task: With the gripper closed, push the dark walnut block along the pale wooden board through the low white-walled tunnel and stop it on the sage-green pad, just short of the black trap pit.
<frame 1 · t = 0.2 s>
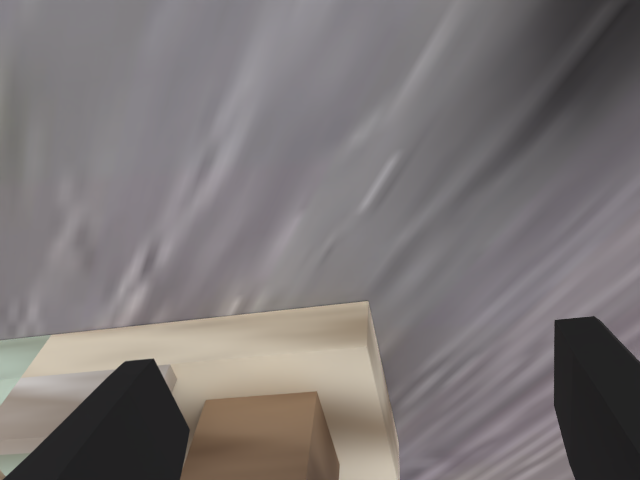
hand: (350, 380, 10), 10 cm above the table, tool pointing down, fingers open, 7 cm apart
walnut block: (275, 433, 23), point 2 cm above the table, touching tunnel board
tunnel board: (124, 398, 26), on the table
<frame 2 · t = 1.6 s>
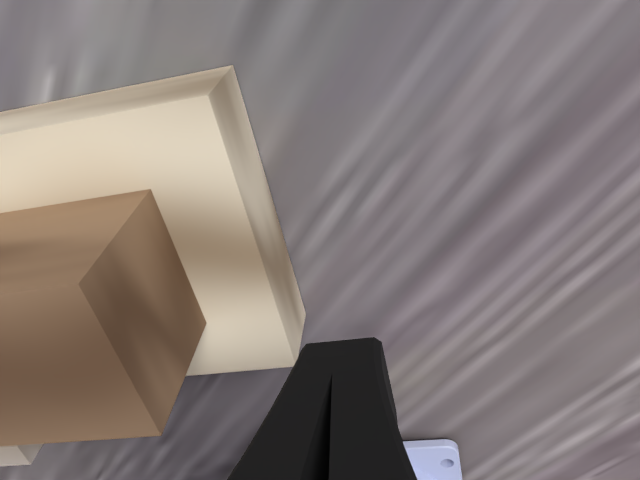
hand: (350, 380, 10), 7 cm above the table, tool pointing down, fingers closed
walnut block: (107, 270, 16), point 2 cm above the table, touching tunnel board
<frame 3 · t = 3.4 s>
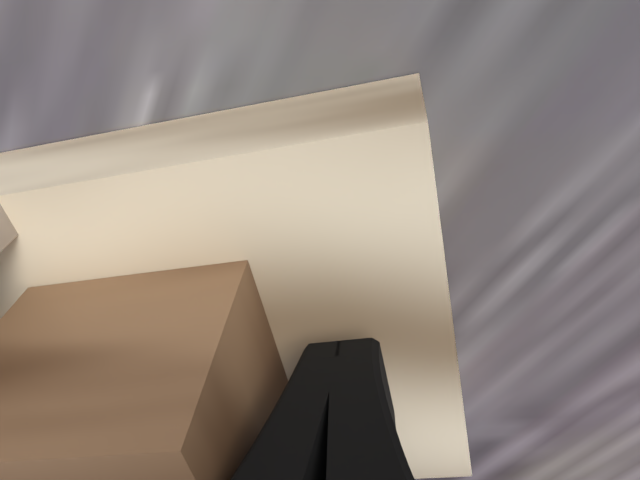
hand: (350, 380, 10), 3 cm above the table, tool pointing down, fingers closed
walnut block: (174, 361, 12), point 3 cm above the table, touching gripper
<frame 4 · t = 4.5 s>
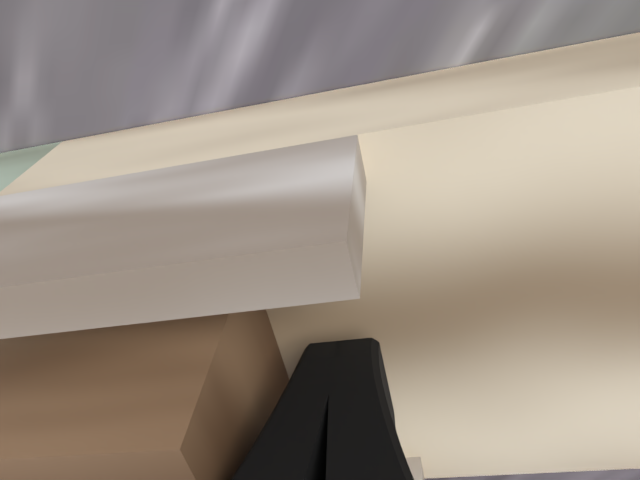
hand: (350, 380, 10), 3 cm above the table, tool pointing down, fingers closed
walnut block: (175, 359, 12), point 3 cm above the table, touching gripper
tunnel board: (199, 290, 14), on the table
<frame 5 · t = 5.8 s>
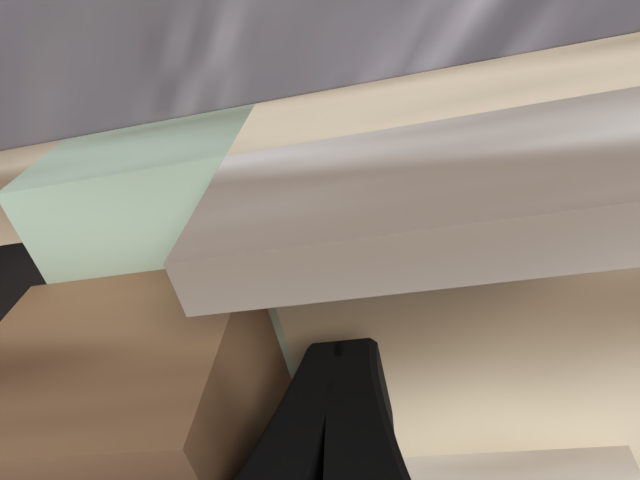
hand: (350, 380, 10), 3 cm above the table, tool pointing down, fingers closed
walnut block: (177, 359, 12), point 3 cm above the table, touching gripper, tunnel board
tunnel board: (373, 268, 13), on the table
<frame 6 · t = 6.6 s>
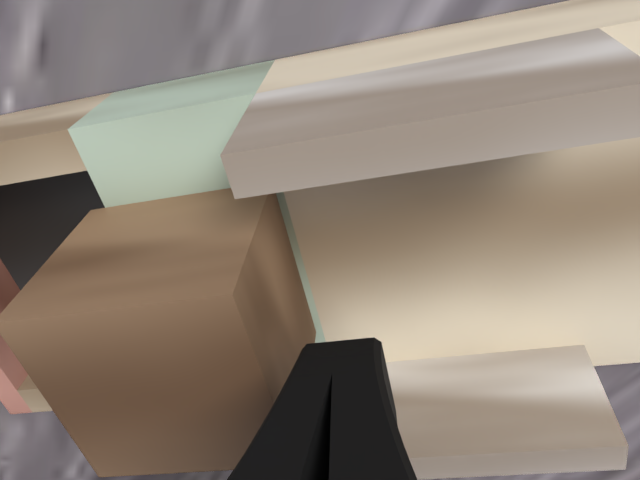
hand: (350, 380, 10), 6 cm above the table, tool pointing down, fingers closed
walnut block: (209, 274, 14), point 2 cm above the table, touching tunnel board
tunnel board: (372, 204, 15), on the table
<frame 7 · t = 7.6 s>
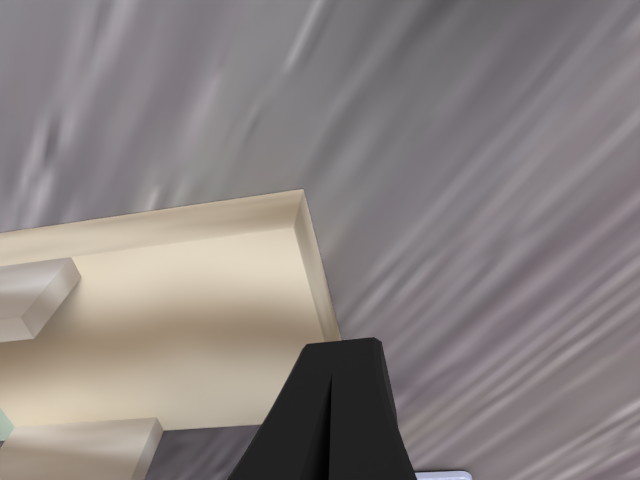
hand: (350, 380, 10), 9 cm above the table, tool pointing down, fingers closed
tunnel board: (41, 320, 23), on the table
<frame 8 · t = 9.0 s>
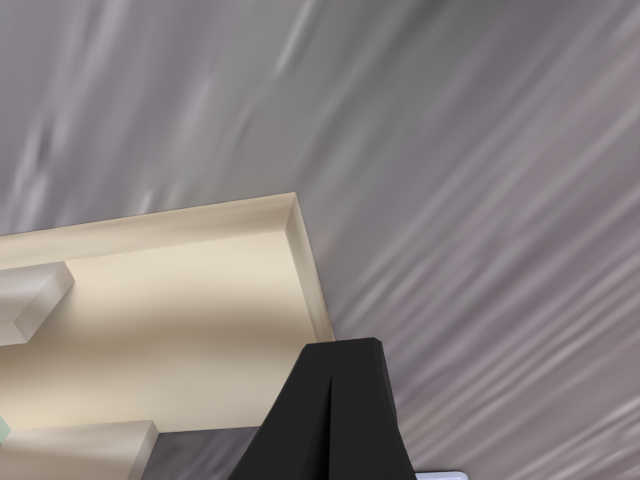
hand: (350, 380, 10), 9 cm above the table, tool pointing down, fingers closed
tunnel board: (37, 323, 23), on the table
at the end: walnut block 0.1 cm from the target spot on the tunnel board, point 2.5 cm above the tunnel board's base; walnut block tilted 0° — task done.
